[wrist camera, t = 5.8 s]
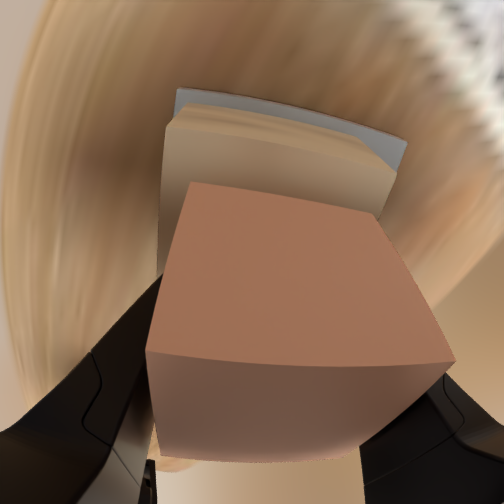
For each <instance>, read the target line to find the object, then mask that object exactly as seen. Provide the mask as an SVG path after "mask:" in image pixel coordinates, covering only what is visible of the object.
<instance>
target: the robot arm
mask: <svg viewBox="0 0 504 504" xmlns="http://www.w3.org/2000/svg"><path fill="white" fill-rule="evenodd" d="M163 273H164V272H163ZM163 273H162V274H161V276H160V277H159V278H158V279H157V280H156V281H155V282H154V283H153V284H152V285H151V286H150V287H149V288H148V289H147V290H146V291H145V292H144V293H143V294H142V295H141V296H140V297H139V298H138V299H137V301H136V302H135V303H134V304H133V305H132V306H131V307H130V308H129V309H128V310H127V311H126V312H125V313H124V314H123V315H122V316H121V318H120V319H119V320H118V321H117V322H116V323H115V324H114V325H113V326H112V327H111V328H110V329H109V331H108V332H107V333H106V334H105V335H104V336H103V337H102V338H101V339H100V340H99V342H98V343H97V344H96V345H95V346H94V347H93V348H92V349H91V352H88V353H87V355H86V356H85V357H84V358H83V359H82V360H81V361H80V363H79V364H78V365H77V366H76V367H75V368H74V369H73V370H72V371H71V372H70V373H69V374H68V375H67V376H66V377H65V378H64V379H63V380H62V381H61V382H60V383H59V384H58V385H57V386H56V387H55V388H54V389H53V390H51V391H50V392H49V393H48V394H47V395H46V396H45V397H44V398H43V399H42V400H40V401H39V402H38V403H37V404H36V405H35V406H34V407H33V408H32V409H31V410H29V411H28V412H27V413H26V414H25V415H24V416H23V417H22V418H21V419H20V420H19V421H17V422H16V423H15V424H13V425H12V426H11V427H9V428H7V429H5V430H4V431H1V432H0V504H157V489H156V472H155V460H151V459H148V460H147V459H146V458H147V454H148V449H149V444H150V440H151V435H152V431H153V426H154V422H155V420H154V414H153V408H152V401H151V394H150V387H149V379H148V371H147V362H146V353H145V349H146V344H147V340H148V335H149V331H150V326H151V322H152V318H153V313H154V309H155V305H156V301H157V297H158V293H159V289H160V285H161V281H162V277H163ZM359 449H360V457H361V465H362V474H363V483H364V495H365V504H504V426H503V425H501V424H500V423H498V422H497V421H496V420H495V419H494V418H492V417H491V416H490V415H489V414H488V413H487V412H486V411H485V410H484V409H483V408H482V407H481V406H480V405H479V404H477V403H476V402H475V401H474V400H473V399H472V398H471V397H470V396H469V395H468V394H467V393H466V392H465V391H463V390H462V389H461V388H460V387H459V386H458V385H457V383H456V382H455V381H454V380H453V379H451V377H450V376H449V375H448V374H447V373H446V372H445V373H444V374H443V375H442V376H441V377H440V378H439V379H438V380H437V381H436V382H435V383H434V384H433V385H432V386H431V387H430V388H429V389H428V390H427V391H426V392H425V393H424V394H422V395H421V396H420V397H419V398H418V399H417V400H416V401H415V402H414V403H412V404H411V405H410V406H409V407H408V408H407V409H406V410H404V411H403V412H402V413H401V414H400V415H399V416H397V417H396V418H395V419H394V420H392V421H391V422H390V423H389V424H388V425H386V426H385V427H384V428H383V429H381V430H380V431H379V432H377V433H376V434H375V435H373V436H372V437H371V438H369V439H368V440H367V441H365V442H364V443H363V444H361V445H360V446H359Z"/></svg>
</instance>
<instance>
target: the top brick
mask: <svg viewBox="0 0 504 504" xmlns="http://www.w3.org/2000/svg"><path fill="white" fill-rule="evenodd" d="M145 353H146V362H147V371H148V379H149V387H150V394H151V401H152V408H153V414H154V420H155V426H156V432H157V438H158V443H159V448H160V453H161V456H168V457H176V458H185V459H195V460H206V461H222V462H249V463H253V462H254V463H257V462H259V463H262V462H263V463H272V462H299V461H314V460H325V459H334V458H342V457H344V456H346V455H347V454H348V453H350V452H351V451H353V450H354V449H356V448H357V447H358V446H360V445H361V444H363V443H364V442H365V441H367V440H368V439H369V438H371V437H372V436H373V435H375V434H376V433H377V432H379V431H380V430H381V429H383V428H384V427H385V426H386V425H388V424H389V423H390V422H391V421H392V420H394V419H395V418H396V417H397V416H399V415H400V414H401V413H402V412H403V411H404V410H406V409H407V408H408V407H409V406H410V405H411V404H412V403H414V402H415V401H416V400H417V399H418V398H419V397H420V396H421V395H422V394H424V393H425V392H426V391H427V390H428V389H429V388H430V387H431V386H432V385H433V384H434V383H435V382H436V381H437V380H438V379H439V378H440V377H441V376H442V375H443V374H444V373H445V372H446V371H447V370H448V369H449V368H450V367H451V366H452V365H453V364H454V363H455V362H456V359H455V357H454V355H453V354H452V351H451V349H450V347H449V345H448V342H447V340H446V339H445V336H444V334H443V332H442V331H441V329H440V327H439V325H438V323H437V321H436V319H435V317H434V315H433V313H432V311H431V310H430V308H429V306H428V304H427V302H426V300H425V299H424V297H423V295H422V293H421V291H420V290H419V288H418V286H417V284H416V283H415V281H414V279H413V278H412V276H411V274H410V272H409V271H408V269H407V267H406V266H405V264H404V262H403V261H402V259H401V258H400V256H399V254H398V253H397V251H396V249H395V248H394V246H393V245H392V243H391V242H390V240H389V238H388V237H387V235H386V234H385V232H384V231H383V229H382V228H381V226H380V225H379V223H378V222H377V220H376V219H375V217H374V216H373V214H372V213H367V212H362V211H358V210H353V209H348V208H344V207H339V206H334V205H329V204H324V203H319V202H314V201H308V200H303V199H298V198H292V197H287V196H281V195H276V194H270V193H264V192H258V191H252V190H246V189H240V188H233V187H227V186H220V185H213V184H206V183H199V182H192V181H190V184H189V188H188V191H187V194H186V197H185V200H184V204H183V207H182V210H181V213H180V217H179V220H178V223H177V227H176V230H175V234H174V237H173V241H172V244H171V248H170V251H169V255H168V259H167V262H166V266H165V270H164V273H163V277H162V281H161V285H160V289H159V293H158V297H157V301H156V305H155V309H154V313H153V318H152V322H151V326H150V331H149V335H148V340H147V344H146V349H145Z"/></svg>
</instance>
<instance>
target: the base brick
mask: <svg viewBox="0 0 504 504" xmlns="http://www.w3.org/2000/svg"><path fill="white" fill-rule="evenodd" d="M396 176H397V173H396V172H395V171H394V170H393V169H392V168H391V167H390V166H389V165H387V164H386V163H385V162H384V161H383V160H382V159H381V158H380V157H379V156H378V155H377V154H376V153H374V152H373V151H372V150H371V149H370V148H369V147H368V146H367V145H365V144H364V143H363V142H362V141H361V140H360V139H359V138H357V137H356V136H352V135H349V134H345V133H342V132H338V131H334V130H331V129H327V128H323V127H319V126H315V125H311V124H307V123H303V122H299V121H294V120H290V119H285V118H280V117H276V116H271V115H266V114H261V113H255V112H250V111H244V110H238V109H232V108H226V107H220V106H213V105H205V104H198V103H189V102H188V103H187V104H186V105H185V106H184V107H183V108H182V109H181V110H180V111H179V112H178V114H177V115H176V116H175V117H174V118H173V119H172V120H171V121H170V123H169V124H168V125H167V126H166V131H165V141H164V151H163V161H162V173H161V187H160V202H159V221H158V248H157V279H158V278H159V277H160V276H161V274H162V273H163V272H164V270H165V266H166V262H167V259H168V255H169V251H170V248H171V244H172V241H173V237H174V234H175V230H176V227H177V223H178V220H179V217H180V213H181V210H182V207H183V204H184V200H185V197H186V194H187V191H188V188H189V184H190V181H192V182H199V183H206V184H213V185H220V186H227V187H233V188H240V189H246V190H252V191H258V192H264V193H270V194H276V195H281V196H287V197H292V198H298V199H303V200H308V201H314V202H319V203H324V204H329V205H334V206H339V207H344V208H348V209H353V210H358V211H362V212H367V213H372V214H373V216H374V217H375V219H376V220H377V221H378V219H379V217H380V215H381V212H382V210H383V208H384V205H385V203H386V201H387V198H388V196H389V193H390V191H391V189H392V186H393V184H394V181H395V179H396Z"/></svg>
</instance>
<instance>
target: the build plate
mask: <svg viewBox="0 0 504 504" xmlns="http://www.w3.org/2000/svg"><path fill="white" fill-rule="evenodd" d="M188 102H189V103H198V104H205V105H213V106H220V107H226V108H232V109H238V110H244V111H250V112H255V113H261V114H266V115H271V116H276V117H280V118H285V119H290V120H294V121H299V122H303V123H307V124H311V125H315V126H319V127H323V128H327V129H331V130H334V131H338V132H342V133H345V134H349V135H352V136H356V137H357V138H359V139H360V140H361V141H362V142H363V143H364V144H365V145H367V146H368V147H369V148H370V149H371V150H372V151H373V152H374V153H376V154H377V155H378V156H379V157H380V158H381V159H382V160H383V161H384V162H385V163H386V164H387V165H389V166H390V167H391V168H392V169H393V170H394V171H395V172H397V169H398V167H399V164H400V162H401V159H402V156H403V154H404V151H405V148H406V146H407V143H408V142H406V141H405V140H404V139H402V138H400V137H397V136H394V135H391V134H388V133H386V132H383V131H380V130H377V129H374V128H371V127H368V126H365V125H361V124H358V123H355V122H352V121H348V120H345V119H341V118H338V117H334V116H331V115H327V114H323V113H320V112H316V111H312V110H308V109H304V108H300V107H295V106H291V105H287V104H282V103H278V102H273V101H268V100H263V99H258V98H252V97H247V96H241V95H235V94H229V93H222V92H216V91H208V90H201V89H192V88H183V87H179V88H178V89H177V93H176V100H175V107H174V114H173V118H174V117H175V116H176V115H177V114H178V112H179V111H180V110H181V109H182V108H183V107H184V106H185V105H186V104H187V103H188Z"/></svg>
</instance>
